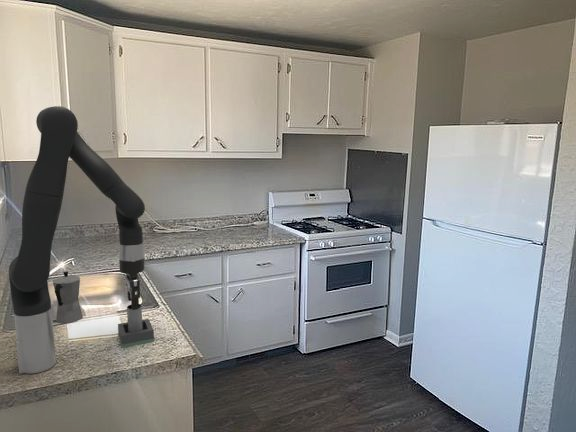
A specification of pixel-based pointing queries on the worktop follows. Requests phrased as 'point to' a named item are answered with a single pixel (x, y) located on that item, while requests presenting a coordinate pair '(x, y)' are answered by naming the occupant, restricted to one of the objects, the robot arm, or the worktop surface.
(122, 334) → the socket board
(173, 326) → the worktop surface
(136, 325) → the dark grey cylinder
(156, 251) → the worktop surface
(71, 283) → the coffeepot
